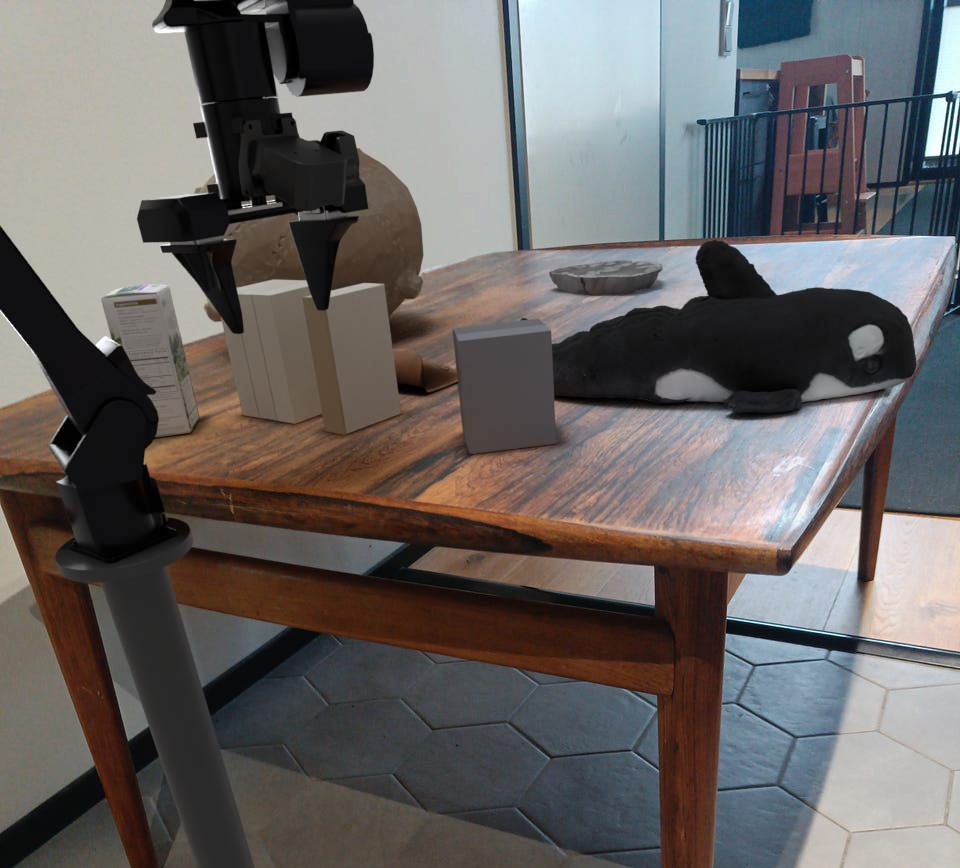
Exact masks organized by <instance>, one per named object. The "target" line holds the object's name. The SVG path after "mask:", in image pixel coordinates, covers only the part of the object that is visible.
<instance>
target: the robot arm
mask: <svg viewBox="0 0 960 868" xmlns="http://www.w3.org/2000/svg"><path fill="white" fill-rule="evenodd" d="M262 11H265V13H263V14H261V13H260V14H259V13H258V12H262ZM255 12H256V13H255ZM253 13H255V14H253ZM257 13H258V14H257ZM151 26H152V30H153V31H154V32H155V33H157V34H170V33H171V34H172V33H184V38H185V41H186V46H187V51H188V56H189V60H190V65H191V69H192V75H193V79H194V83H195V88H196V92H197V98H198V102H199V105H200V106H199V107H200V112H201V116H202V117H201V118H202V121H199V122H193V123H192V125H193V129H194V135H195V138H196V139H207V144H208V149H209V154H210V158H211V163H212V168H213V173H214V174H215V177H216V182H217V183H215V184H207V189H208V193H202V194H194V193H187V194H178V195H170V196H163V197H155V198H148V199H142V200H141V201H140V205H139V208H138V213H137V217H136V221H137V224H138V228H139V233H140V236H141V237H140V238H141V241H142V243H143V244H144V243H147V244H148V243H150V244H151V243H163V244H160V245H159V249H160V252H161V253H162V254H172V255H173V256H174V258H175V259H176V260H177V261H178V263H179V264H180V265H181V266H182V267H183V269H185V271H186V272H187V274H189V276H190V277H191V278H192V279H193V280H194V282H195V283H196V284H197V285H198V287H199V288H200V290H201V289H202V290H201V291H202V293H203V292H204V293H205V295H206V296H207V298H208V299H209V300H210V302H211V303H212V305H213V306H214V308H215V309H216V310H217V312H218V313H219V315H220V316H221V318H222V319H223V320H224V322H225V323H226V325H227V326H228V327H229V329H230V330H231V332H232V333H234V334H242V333H244V326H243V317H242V311H241V306H240V301H239V297H238V292H237V288H236V283H235V278H234V274H233V269H232V263H231V262H232V257H233V253H234V250H235V246H236V242H237V241H236V239H224V238H223V235H225V233H226V230H227V228H228V226H229V224H233V223H239V222H245V221H251V220H257V219H262V218H268V217H274V216H280V215H285V214H291V213H295V214H296V215H299V220H296V221H290V222H289V226H290V229H291V232H292V235H293V239H294V242H295V245H296V248H297V252H298V255H299V258H300V261H301V265H302V268H303V271H304V274H305V278H306V281H307V284H308V288H309V291H310V294H311V296H312V299H313V301H314V304H315V306H316V308H317V310H319V311H325V310H327V309H328V308H329V301H330V294H331V287H332V281H333V274H334V267H335V261H336V256H337V252H338V247H339V243H340V240H341V238H342V237H343V235H344V234H345V233H346V231H347V230H348V228H349V227H350V226H351V225H352V224H353V223H357V222H358V219H359V216H348V215H347V213H349V212H355V211H360V210H366V209H368V201H367V194H366V187H365V184H364V182H363V181H362V180H361V179H360V178H359V175H360V174H359V156H358V151H357V148H358V147H357V142H356V138H355V135H354V134H351V133H349V132H347V131H345V130H332V131H325V132H324V133H323V134H322V136H321V138H320V140H319V139H313V140H307V139H304V138H302V137H300V134H299V131H298V125H297V120H296V119H295V118H294V116H293V112H282V113H281V108H280V103H279V102H280V101H279V98H278V92H277V85H276V81H277V83H278V84H279V85H285V86H286V88H287V90H288V92H289V93H290V94H291V95H292V96H293V97H296V98H299V97H310V96H312V97H313V96H322V95H323V96H324V95H334V94H347V93H359V92H365V91H366V90H367V89H369V87H370V85H371V83H372V78H373V75H374V68H375V52H374V51H375V50H374V40H373V36H372V33H371V32H369V29H368V25H367V22H366V19H365V17H364V14H363V13H362V11H361V9H360V7H358V5H357V4H356V3H355V2H354V0H165V1H164V4H163V7H162V9H161V10H160V12H159V14H158V15H157V17H155V19H153V21H152V24H151ZM273 195H274V196H275V200H272V201H267V200H266V196H273ZM244 201H251V204H246V205H242V204H241V202H244ZM204 293H203V294H204ZM205 295H204V296H205ZM207 298H206V299H207ZM0 313H1V314H2V316H3V318H5V319H6V321H7V322H8V323H9V324H10V325H11V327H12V328H13V329H14V330H15V332H16V333H17V334H18V336H19V337H20V338H21V340H23V342H24V343H25V344H26V345H27V347H28V348H29V349H30V351H31V352H32V354H33V355H34V358H35V360H36V361H37V363H38V366H39V367H40V369H41V371H42V373H43V375H44V377H45V378H46V380H47V383H48V384H49V386H50V388H51V390H52V391H53V393H54V395H55V396H56V398H57V400H58V402H59V404H60V405H61V407H62V409H63V411H64V413H65V414H66V416H65V417H64V418H63V421H62V422H61V424H60V425H59V426H58V429H57V430H56V432H55V433H54V435H53V437H52V438H51V440H50V442H49V443H48V449H49V451H50V453H52V455H53V456H54V458H55V460H56V461H57V463H58V465H59V466H60V467H61V469H62V470H63V472H64V473H65V475H66V476H65V477H64V478H62V479H60V480H57V481H56V485H57V486H56V487H57V488H58V491H59V495H60V497H61V501H62V503H63V507H64V509H65V512H66V515H67V517H68V521H69V523H70V526H71V529H72V532H73V535H74V537H75V538H76V541H73V542H71V543H69V548H70V550H72V551H75V552H77V553H80V554H83V555H86V556H88V557H91V558H94V559H96V560H99V561H102V562H104V563H107V564H112V563H115V562H118V561H120V560H122V559H125V558H127V557H129V556H132V555H134V554H136V553H139V552H141V551H143V550H145V549H148V548H150V547H152V546H155V545H157V544H159V543H162V542H164V541H166V540H169V539H171V538H173V537H175V536H177V533H176V530H175V529H172V528H169V527H166V526H165V525H167V523H168V520H167V517H168V516H167V513H165V512H166V510H165V506H164V502H163V499H162V496H161V492H160V489H159V485H158V481H157V479H156V478H155V477H153V476H151V474H150V471H149V467H148V465H147V463H146V462H145V455H146V453H145V452H146V450H147V448H148V447H149V446H151V445H152V444H153V441H154V439H155V438H156V437H155V436H156V434H157V428H158V421H159V416H158V412H157V410H156V408H155V406H154V404H153V402H152V400H151V399H150V398H149V397H148V396H147V395H154V394H156V390H154V389H153V388H152V387H150V386H149V385H148V384H146V383H145V382H144V381H143V380H142V379H141V378H140V377H139V376H138V374H137V373H136V371H135V369H134V367H133V365H132V363H131V361H130V359H129V357H128V355H127V354H126V352H125V350H124V348H123V347H122V346H121V345H119V344H118V343H116V342H115V341H113V340H112V339H111V337H108V336H106V335H104V336H103V337H102V338H101V339H100V340H99V341H97V343H96V344H94V342H92V340H90V339H89V338H88V337H87V336H86V335H85V334H84V333H83V332H82V331H81V330H80V329H79V328H78V327H77V325H76V324H75V323H74V321H73V320H72V319H71V317H70V316H69V315H68V313H67V312H66V311H65V309H64V308H63V307H62V305H61V304H60V303H59V302H58V300H57V299H56V297H55V296H54V295H53V293H52V292H51V290H49V288H48V287H47V286H46V284H45V283H44V282H43V280H42V279H41V277H40V276H39V275H38V274H37V272H36V271H35V270H34V268H33V267H32V266H31V264H30V263H29V262H28V260H27V259H26V258H25V256H24V255H23V253H22V252H21V251H20V249H19V248H18V247H17V246H16V243H14V242H13V240H12V239H11V238H10V236H9V235H8V234H7V232H6V230H4V228H3V227H2V226H1V225H0Z"/></svg>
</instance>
